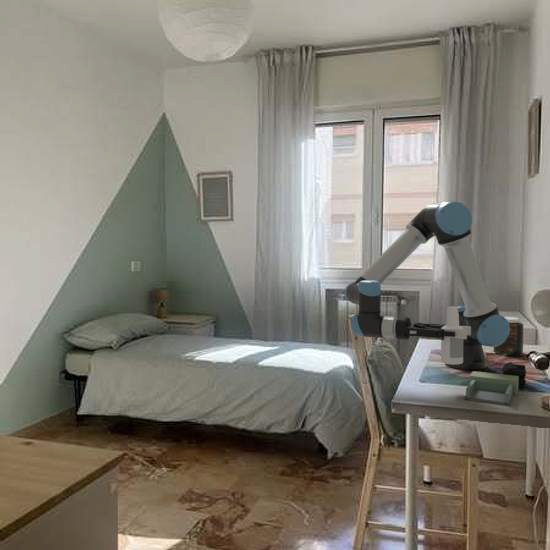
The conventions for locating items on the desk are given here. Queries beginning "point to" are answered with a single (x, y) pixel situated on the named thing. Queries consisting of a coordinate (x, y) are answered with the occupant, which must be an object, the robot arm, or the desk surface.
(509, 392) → the chute bracket
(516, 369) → the end cap
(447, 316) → the spray bottle
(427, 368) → the desk surface
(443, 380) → the desk surface
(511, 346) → the jar
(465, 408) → the desk surface
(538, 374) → the desk surface
